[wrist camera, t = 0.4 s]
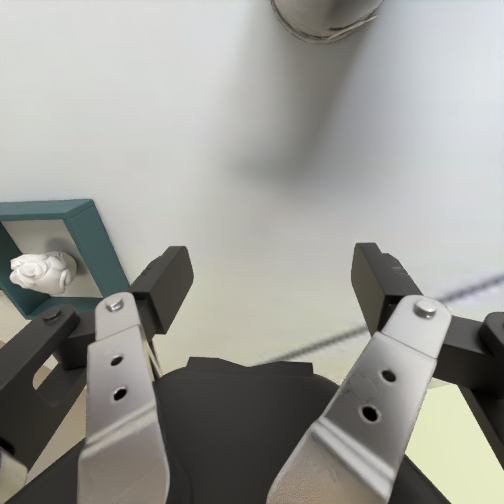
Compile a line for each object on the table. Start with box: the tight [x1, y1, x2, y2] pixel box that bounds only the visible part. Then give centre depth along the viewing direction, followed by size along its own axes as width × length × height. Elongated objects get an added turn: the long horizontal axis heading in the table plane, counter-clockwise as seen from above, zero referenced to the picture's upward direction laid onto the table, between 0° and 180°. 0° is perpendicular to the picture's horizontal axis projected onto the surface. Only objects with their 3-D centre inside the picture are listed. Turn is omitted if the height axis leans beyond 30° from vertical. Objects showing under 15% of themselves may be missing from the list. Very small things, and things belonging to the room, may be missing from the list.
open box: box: [0, 199, 130, 320], centre depth 35 cm, size 18×17×4 cm
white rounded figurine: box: [10, 251, 77, 294], centre depth 34 cm, size 6×7×7 cm
